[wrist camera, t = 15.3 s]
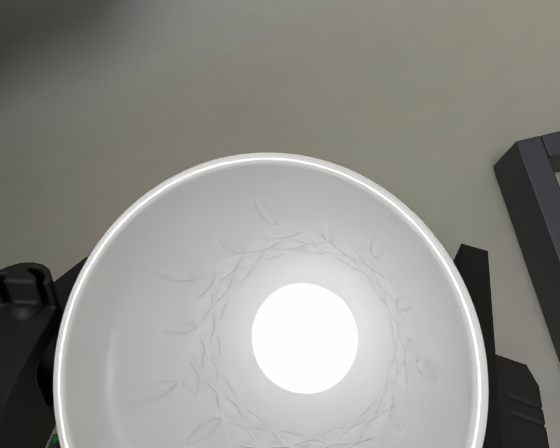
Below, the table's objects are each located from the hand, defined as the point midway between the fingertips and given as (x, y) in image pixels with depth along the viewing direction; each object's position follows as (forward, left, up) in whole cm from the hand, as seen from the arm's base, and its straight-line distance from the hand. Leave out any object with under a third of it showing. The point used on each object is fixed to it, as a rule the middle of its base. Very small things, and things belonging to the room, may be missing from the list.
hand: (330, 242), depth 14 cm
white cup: (+3, -2, -4) cm, 5 cm away
